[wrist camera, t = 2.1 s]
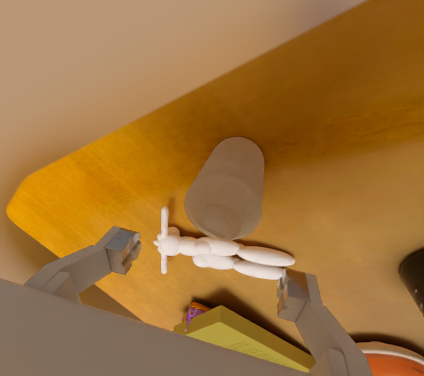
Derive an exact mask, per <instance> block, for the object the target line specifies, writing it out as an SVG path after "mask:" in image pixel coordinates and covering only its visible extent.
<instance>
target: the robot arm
mask: <svg viewBox="0 0 424 376" xmlns="http://www.w3.org/2000/svg"><path fill="white" fill-rule="evenodd" d="M139 238H140V233H138V232H135V231H132V230H128V229H124V228H120V227H116V226H114V227H112V228H111V229H110V230H109V231H108V232H107V233H106V234H105V235H104V236H103V237H102V238H101V239H100V241H99V242H98V243H97V244H96V245H95V246H94V245H91V246H89V247H87V248H84V249H82V250H79V251H77V252H75V253H72V254H70V255H68V256H65V257H63V258H60V259H58V260H56V261H54V262H51V263H49V264H46V265H45V266H44V267H43V268H42V269H40V270H39V271H38V272H37V273H36V274H35V275H34V276H33V277H32V278H30V279H29V280H28V281H27V282H26V283H25V284H24V285H21V284H17V283H14V282H11V281H8V280H4V279H1V278H0V376H373V374H372V371H371V368H370V365H369V362H368V359H367V357H366V356H365V354H364V353H363V352H362V351H361V350H360V348H359V347H358V346H357V345H356V343H355V342H354V341H353V340H352V338H351V337H350V336H349V335H348V333H347V332H346V331H345V330H344V328H343V327H342V326H341V325H340V323H339V322H338V321H337V320H336V318H335V317H334V316H333V315H332V313H331V312H330V311H329V310H328V308H327V307H326V306H323V305H322V301H321V296H320V292H319V288H318V283H317V279H316V276H315V275H313V274H309V273H304V272H301V271H296V270H292V269H288V268H284V269H283V271H282V277H280V278H279V281H278V285H277V297H278V298H279V302H278V304H277V309H278V317H279V318H282V319H285V320H289V321H292V322H295V324H296V326H297V328H298V330H299V332H300V334H301V335H302V337H303V339H304V341H305V343H306V345H307V346H308V348H309V350H310V352H311V354H312V356H313V358H314V359H315V361H316V364H315V365H314V366H313V367H312V368H311V369H310V371H309V372H308V373H307V372H303V371H300V370H297V369H294V368H290V367H287V366H284V365H281V364H277V363H274V362H271V361H268V360H264V359H261V358H258V357H255V356H251V355H248V354H245V353H242V352H238V351H235V350H232V349H229V348H225V347H222V346H219V345H216V344H212V343H209V342H206V341H203V340H199V339H196V338H193V337H190V336H186V335H183V334H180V333H177V332H173V331H170V330H167V329H164V328H160V327H157V326H154V325H151V324H147V323H144V322H141V321H137V320H134V319H131V318H128V317H125V316H121V315H118V314H114V313H112V312H108V311H105V310H101V309H99V308H95V307H92V306H89V305H85V304H82V303H81V300H80V297H79V295H78V293H80V292H81V291H83V290H85V289H86V288H88V287H89V286H91V285H92V284H94V283H95V282H97V281H98V280H100V279H102V278H103V277H105V276H106V275H108V274H109V273H111V271H112V272H116V273H120V274H124V275H126V273H127V272H128V270H129V269H130V267H131V266H132V261H133V260H135V259H136V258H137V257H138V255H139V253H140V250H141V242H140V241H139Z"/></svg>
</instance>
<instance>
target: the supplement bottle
mask: <svg viewBox="0 0 424 376" xmlns="http://www.w3.org/2000/svg"><path fill="white" fill-rule="evenodd" d="M400 275H401V279H402V281H403V282H404V284H405V286H406V288H407V289H408V291H409V293H410V294H411V296H412V298H413V299H414V301H415V303H416V304H417V306H418V308H419V309H420V311H421V313H422V314H423V316H424V250H423V251H421V252H418V253H416V254H414V255H412V256H411V257H409V258H408V259H407V260H406V261H405V262H404V263H403V265H402V267H401V270H400Z"/></svg>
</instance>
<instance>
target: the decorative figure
mask: <svg viewBox="0 0 424 376" xmlns="http://www.w3.org/2000/svg"><path fill="white" fill-rule="evenodd" d="M168 218H169V211H168V208H167V207H166V206H164V207H163V208H162V210H161V223H162V224H161V233H159V234H158V235H157V240H154V241H153V243H154V245H156V246H158V252H160V253H161V273H162V274H165V273H166V272H167V257H168V256H175V255H177V254H179V253H182V254H184V255H188V256H193V262H194V264H195V265H197V266H199V267H210V268H214V269H223V270H226V269H231V268H234V269H235V270H236V271H238V272H240V273H242V274H245V275H249V276H252V277H257V278H263V279H273V280H277V279H279V278H280V277H282V271H283V268H281V267H278V266H290V265H293V264H294V263H295V259H294V258H293V257H292V256H290V255H289V254H287V253H284V252H281V251H278V250H274V249H270V248H265V247H256V246H243V245H242V244H237V243H236V242H234V241H232V240H219V239H215V238H212V237H210V236H209V237H202V238H199V239H196V238H193V237H180V236H179V234H180V232H179V230H178V228H176V227H170V228H168V225H167V224H168ZM235 254H237V255H238V256H240V257H241V258H243V259H246V260H239V258H233V257H231V256H232V255H235Z"/></svg>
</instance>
